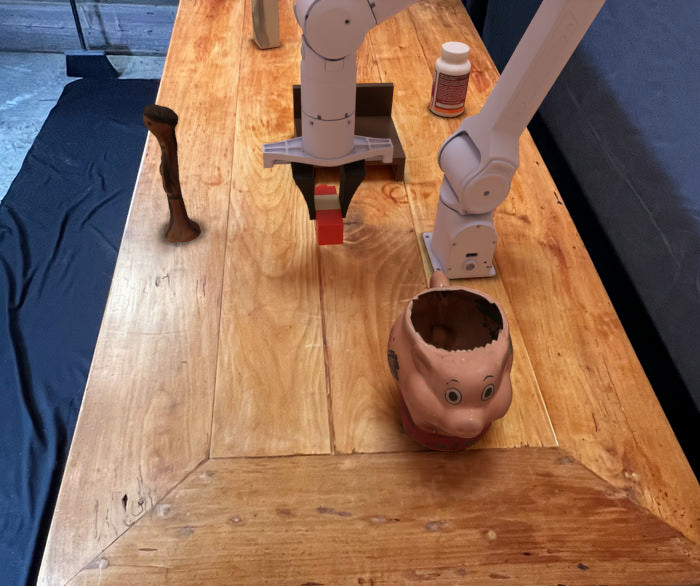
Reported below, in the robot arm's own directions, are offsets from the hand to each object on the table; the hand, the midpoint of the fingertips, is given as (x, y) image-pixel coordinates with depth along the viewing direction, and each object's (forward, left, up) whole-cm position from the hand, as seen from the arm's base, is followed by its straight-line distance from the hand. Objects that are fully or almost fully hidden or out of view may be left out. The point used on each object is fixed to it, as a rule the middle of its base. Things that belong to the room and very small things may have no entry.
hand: (327, 214), depth 76 cm
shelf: (+27, -6, -8) cm, 28 cm away
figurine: (+10, +19, -9) cm, 23 cm away
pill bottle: (+42, -26, -9) cm, 50 cm away
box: (+72, +5, -9) cm, 72 cm away
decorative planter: (-24, -10, -8) cm, 27 cm away
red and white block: (0, 0, -2) cm, 2 cm away
